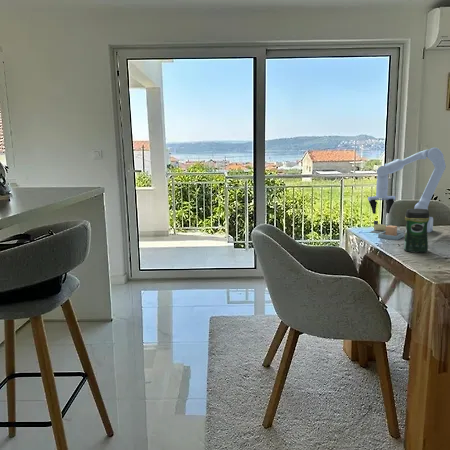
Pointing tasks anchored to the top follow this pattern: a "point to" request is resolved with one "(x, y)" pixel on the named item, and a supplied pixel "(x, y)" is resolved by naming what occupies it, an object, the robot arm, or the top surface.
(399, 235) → the tray
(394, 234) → the block
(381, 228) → the crank
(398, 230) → the plate
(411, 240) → the coffee jar
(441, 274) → the top surface
